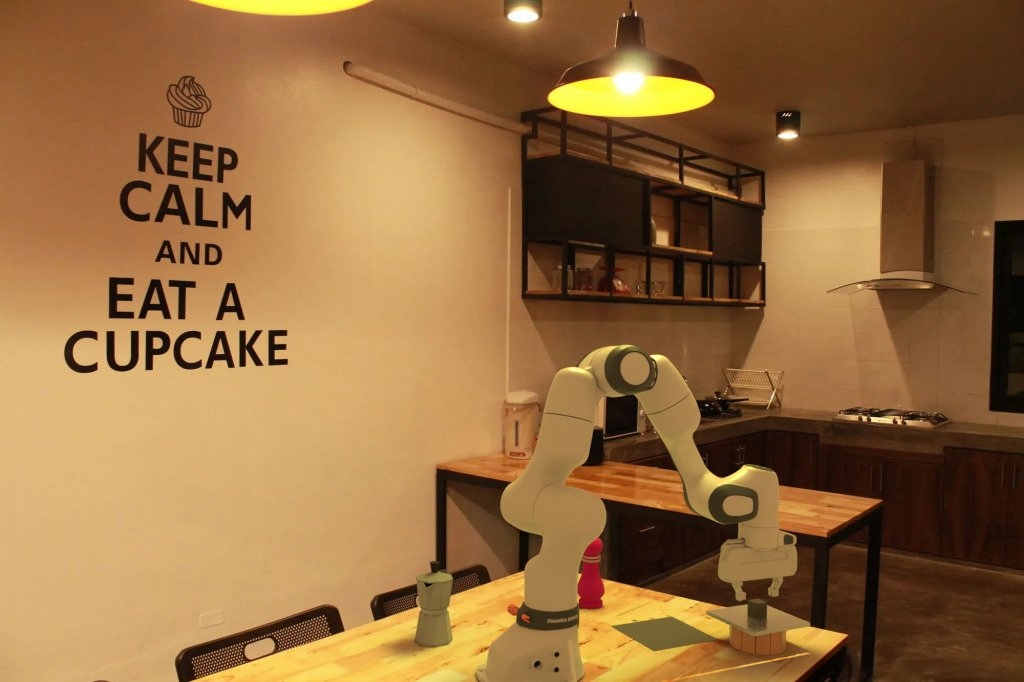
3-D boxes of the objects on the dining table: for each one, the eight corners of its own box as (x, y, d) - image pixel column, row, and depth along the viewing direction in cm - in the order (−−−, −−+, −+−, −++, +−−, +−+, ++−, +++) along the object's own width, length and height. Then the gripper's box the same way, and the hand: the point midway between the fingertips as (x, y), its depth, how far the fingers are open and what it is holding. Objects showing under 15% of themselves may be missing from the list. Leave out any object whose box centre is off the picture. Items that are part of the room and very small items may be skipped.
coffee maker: (444, 651, 184) (445, 570, 184) (406, 648, 186) (407, 567, 186) (462, 629, 199) (462, 553, 199) (426, 626, 201) (427, 551, 201)
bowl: (754, 659, 182) (755, 632, 182) (718, 641, 193) (719, 615, 193) (796, 651, 187) (797, 624, 187) (759, 634, 198) (759, 609, 198)
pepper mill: (582, 612, 213) (583, 533, 213) (572, 603, 220) (573, 527, 220) (608, 610, 215) (609, 532, 215) (598, 601, 222) (599, 526, 222)
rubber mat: (653, 653, 185) (653, 651, 185) (610, 628, 201) (610, 626, 201) (718, 641, 193) (718, 639, 193) (671, 618, 209) (671, 616, 209)
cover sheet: (753, 636, 179) (754, 616, 179) (706, 614, 194) (706, 595, 194) (810, 626, 186) (810, 606, 186) (759, 605, 200) (760, 587, 200)
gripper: (731, 543, 182) (729, 606, 182) (802, 536, 191) (801, 597, 191) (712, 537, 188) (711, 598, 188) (782, 530, 197) (781, 589, 197)
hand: (757, 598), depth 189 cm, fingers open, 8 cm apart
